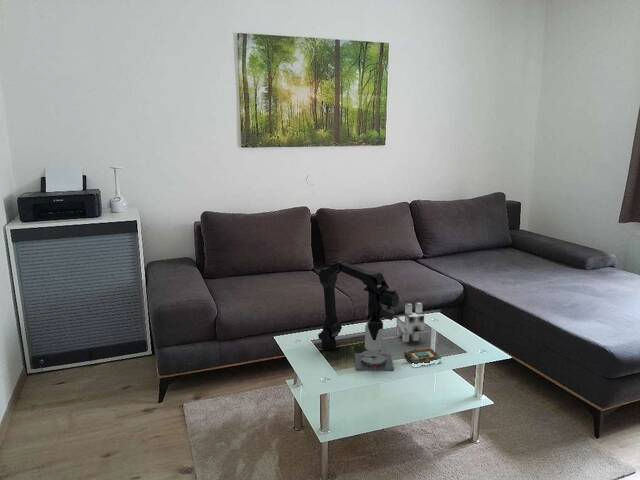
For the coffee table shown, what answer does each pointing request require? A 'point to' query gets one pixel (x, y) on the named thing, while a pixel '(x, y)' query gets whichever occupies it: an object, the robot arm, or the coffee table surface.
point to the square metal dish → (373, 361)
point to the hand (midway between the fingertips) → (373, 336)
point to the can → (372, 344)
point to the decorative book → (421, 356)
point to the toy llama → (410, 323)
